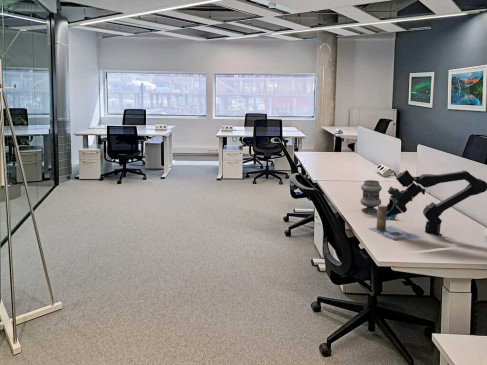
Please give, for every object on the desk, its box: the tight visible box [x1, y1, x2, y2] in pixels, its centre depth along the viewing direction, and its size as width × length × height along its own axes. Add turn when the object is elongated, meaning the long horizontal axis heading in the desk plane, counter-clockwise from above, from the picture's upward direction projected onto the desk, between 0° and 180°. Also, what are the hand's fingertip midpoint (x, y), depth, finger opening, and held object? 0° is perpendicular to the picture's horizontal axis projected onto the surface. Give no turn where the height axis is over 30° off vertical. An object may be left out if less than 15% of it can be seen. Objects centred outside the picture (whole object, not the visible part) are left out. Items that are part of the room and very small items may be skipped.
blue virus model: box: [375, 209, 398, 221], centre depth 269 cm, size 11×6×10 cm
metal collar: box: [383, 231, 407, 241], centre depth 233 cm, size 8×8×2 cm
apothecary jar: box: [359, 179, 382, 214], centre depth 287 cm, size 12×12×18 cm
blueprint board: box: [367, 225, 420, 242], centre depth 240 cm, size 15×22×1 cm
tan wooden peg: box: [376, 204, 387, 231], centre depth 245 cm, size 4×4×12 cm
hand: (385, 214), depth 244 cm, fingers open, 9 cm apart
